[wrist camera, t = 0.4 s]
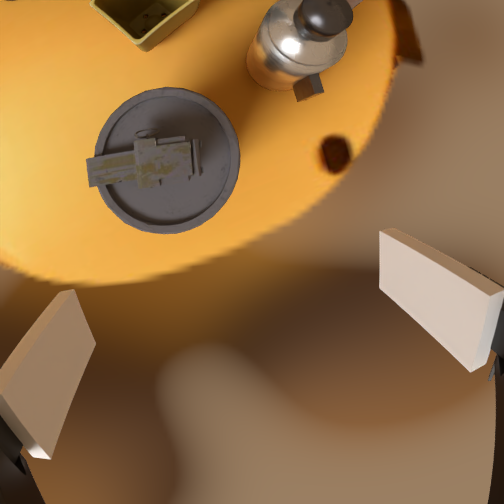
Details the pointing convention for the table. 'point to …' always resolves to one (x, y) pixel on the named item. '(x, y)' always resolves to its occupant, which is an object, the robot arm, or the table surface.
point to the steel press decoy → (299, 45)
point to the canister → (166, 160)
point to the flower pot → (133, 22)
